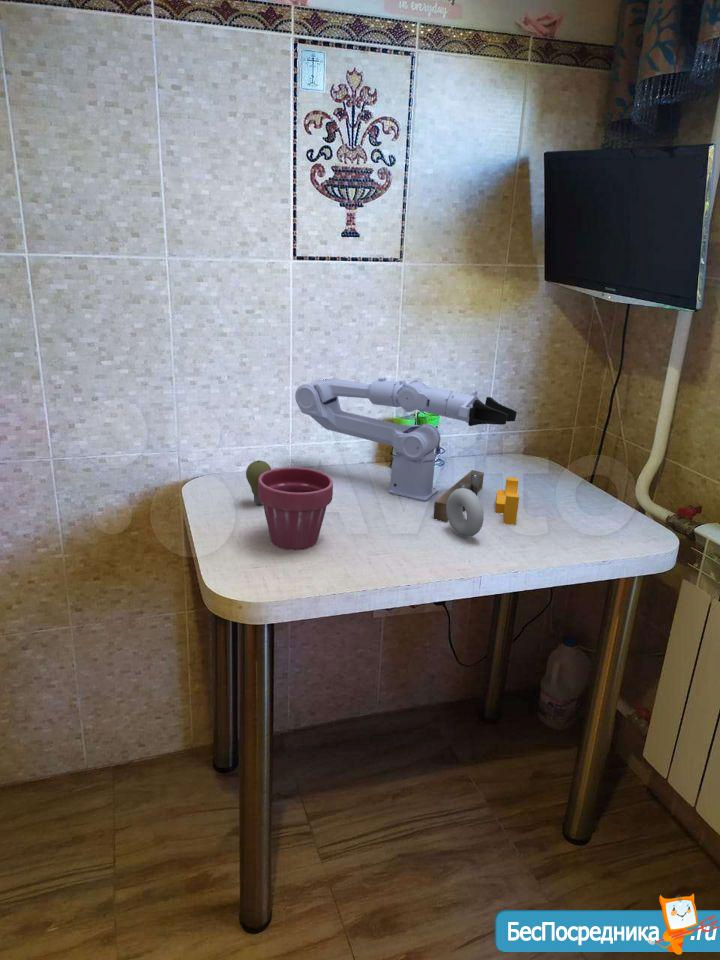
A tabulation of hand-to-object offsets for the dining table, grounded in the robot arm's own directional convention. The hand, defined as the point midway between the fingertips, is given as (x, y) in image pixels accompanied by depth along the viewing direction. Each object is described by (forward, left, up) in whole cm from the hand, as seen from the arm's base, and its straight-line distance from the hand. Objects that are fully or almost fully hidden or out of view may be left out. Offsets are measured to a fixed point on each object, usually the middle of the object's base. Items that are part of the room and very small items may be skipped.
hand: (511, 418), depth 150 cm
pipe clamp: (+1, 0, -22) cm, 22 cm away
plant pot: (-30, -37, -22) cm, 52 cm away
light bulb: (-46, -26, -22) cm, 57 cm away
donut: (-3, -16, -22) cm, 27 cm away
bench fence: (-9, 0, -21) cm, 23 cm away
